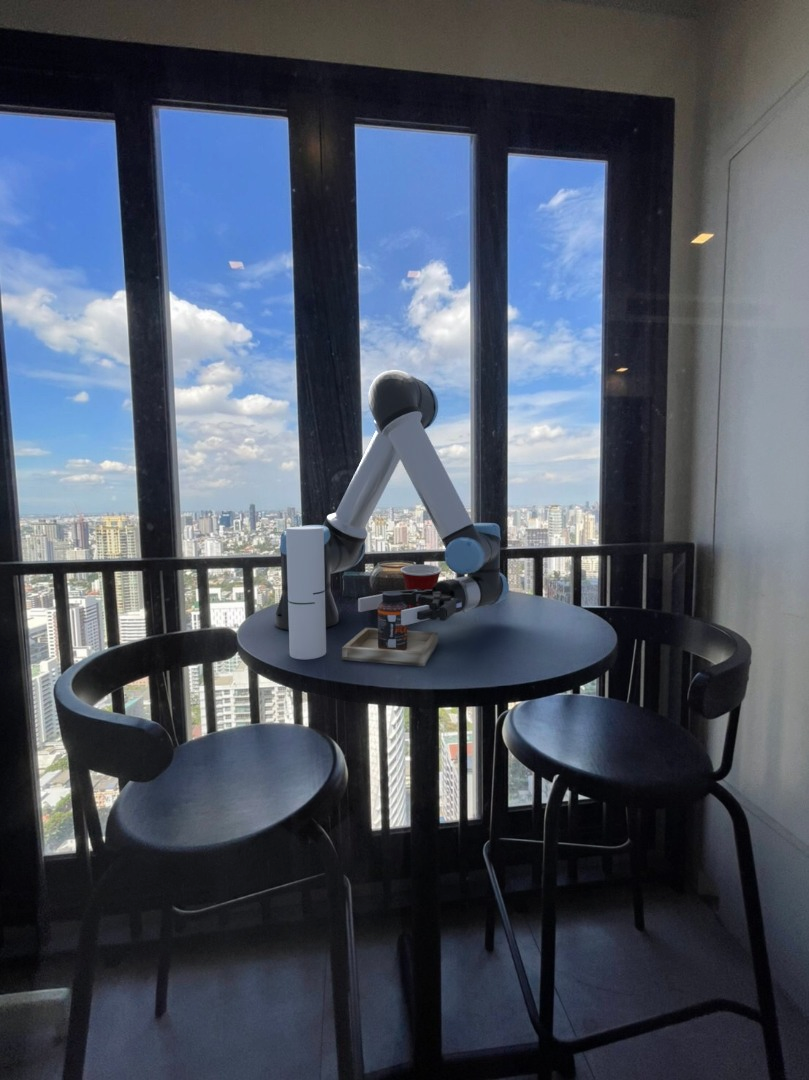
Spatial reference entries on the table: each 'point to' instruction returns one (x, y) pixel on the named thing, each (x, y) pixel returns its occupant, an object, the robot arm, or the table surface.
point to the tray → (368, 651)
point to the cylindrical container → (306, 592)
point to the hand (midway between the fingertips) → (379, 611)
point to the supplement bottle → (391, 622)
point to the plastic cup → (420, 577)
